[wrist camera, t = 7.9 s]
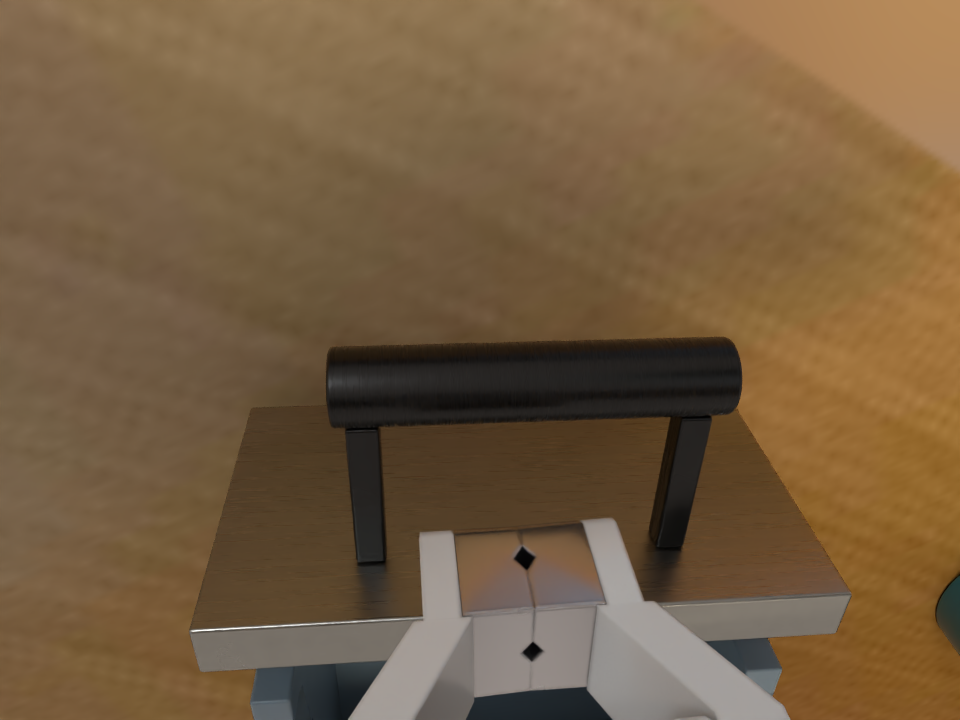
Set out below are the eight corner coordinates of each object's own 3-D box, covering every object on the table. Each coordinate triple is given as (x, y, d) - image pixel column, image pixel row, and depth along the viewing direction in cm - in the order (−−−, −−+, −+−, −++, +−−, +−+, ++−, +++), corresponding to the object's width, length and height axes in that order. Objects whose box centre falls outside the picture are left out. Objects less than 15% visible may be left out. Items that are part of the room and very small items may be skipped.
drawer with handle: (220, 232, 17) (127, 419, 11) (766, 225, 18) (939, 392, 12) (304, 722, 27) (277, 956, 21) (653, 698, 28) (719, 915, 22)
